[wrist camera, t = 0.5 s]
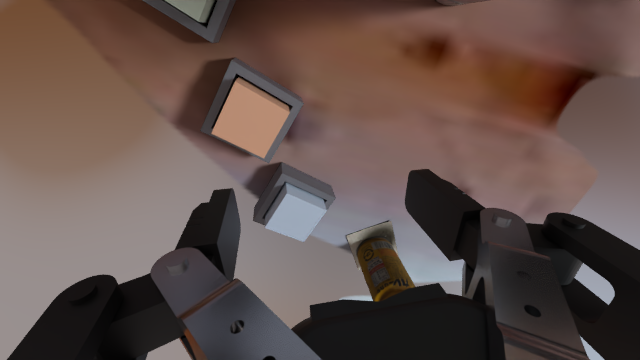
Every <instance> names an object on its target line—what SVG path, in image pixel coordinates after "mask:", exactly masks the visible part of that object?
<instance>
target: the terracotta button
mask: <svg viewBox="0 0 640 360" xmlns="http://www.w3.org/2000/svg"><path fill="white" fill-rule="evenodd" d="M289 113H290V110H289V106H288V105H287V104H285V103H284V102H282V101H280V100H279V99H277V98H275V97H273V96H272V95H270V94H268V93H267V92H265V91H263V90H262V89H260V88H258V87H256V86H255V85H253V84H251V83H250V82H248V81H246V80H244V79H243V78H241V77H238V79H237V80H236V81H235V83H234V85H233V87H232V90H231V92H230V94H229V96H228V98H227V100H226V103H225V105H224V107H223V109H222V111H221V113H220V116H219V118H218V120H217V122H216V124H215V126H214V129H213V131H212V133H211V134H213V135H215V136H218V137H220V138H222V139H224V140H226V141H228V142H230V143H232V144H234V145H236V146H239V147H241V148H243V149H245V150H247V151H249V152H251V153H253V154H255V155H258V156H260V157H262V158H264V157H265V156H266V154H267V152H268V150H269V149H270V147H271V145H272V143H273V142H274V140H275V138H276V136H277V135H278V133H279V131H280V129H281V128H282V126H283V124H284V122H285V121H286V119H287V117H288V115H289Z"/></svg>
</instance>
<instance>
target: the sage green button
mask: <svg viewBox="0 0 640 360" xmlns="http://www.w3.org/2000/svg"><path fill="white" fill-rule="evenodd" d="M165 1H167V2H168V3H170V4H171V5H173V6H175V7H176V8H178V9H179V10H181V11H183V12H184V13H186V14H187V15H189V16H190V17H192V18H194V19H195V20H197V21H198V22H204V23H207V22H208V19H209V17H210V14H211V12H212V9H213V6H214V4H215V1H216V0H165Z"/></svg>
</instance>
